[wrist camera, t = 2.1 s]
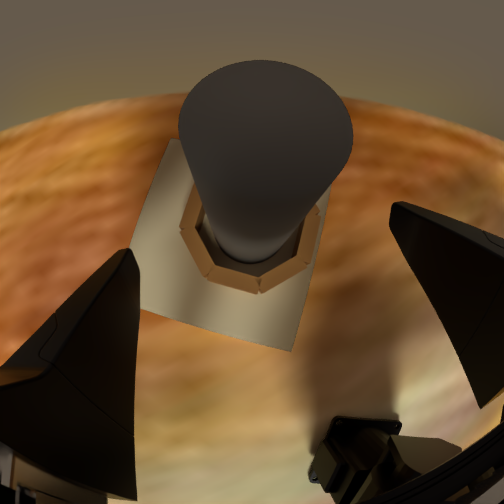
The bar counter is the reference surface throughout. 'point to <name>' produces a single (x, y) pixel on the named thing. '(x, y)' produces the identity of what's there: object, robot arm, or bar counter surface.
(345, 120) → the dark grey cylinder
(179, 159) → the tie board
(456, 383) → the bar counter surface
